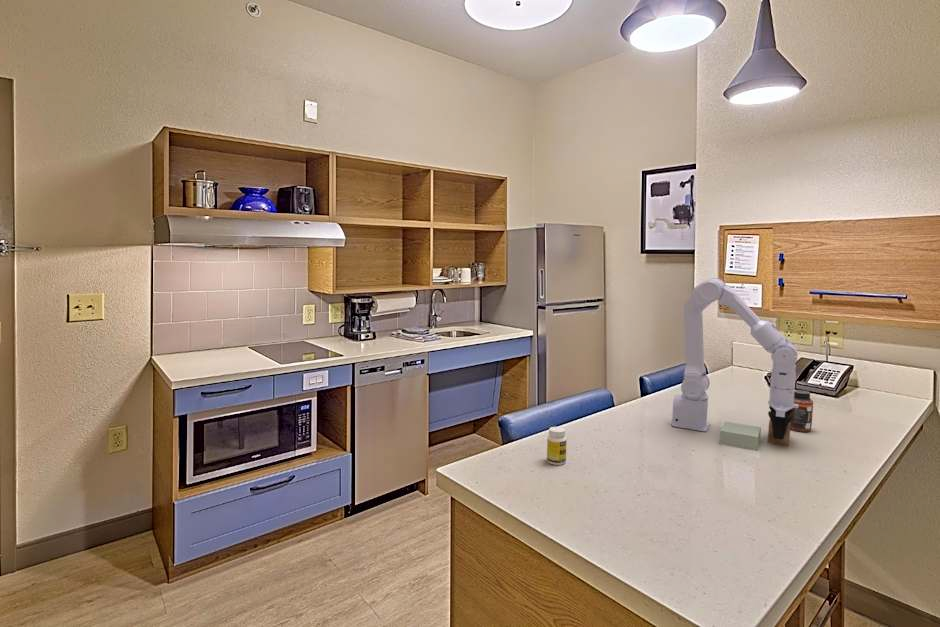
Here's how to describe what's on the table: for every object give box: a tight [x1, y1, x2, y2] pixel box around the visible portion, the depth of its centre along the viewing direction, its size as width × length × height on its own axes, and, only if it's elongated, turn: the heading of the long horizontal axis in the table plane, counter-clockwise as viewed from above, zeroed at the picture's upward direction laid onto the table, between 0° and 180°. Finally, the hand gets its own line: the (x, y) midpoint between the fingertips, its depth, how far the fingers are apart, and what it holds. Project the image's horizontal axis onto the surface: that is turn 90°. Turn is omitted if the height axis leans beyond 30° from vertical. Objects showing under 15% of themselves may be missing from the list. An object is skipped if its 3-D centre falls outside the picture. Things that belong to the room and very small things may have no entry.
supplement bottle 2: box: [790, 389, 814, 433], centre depth 154 cm, size 6×6×11 cm
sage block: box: [719, 421, 762, 451], centre depth 145 cm, size 9×9×4 cm
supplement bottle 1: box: [546, 426, 567, 466], centre depth 132 cm, size 5×5×8 cm
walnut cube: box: [767, 418, 791, 446], centre depth 145 cm, size 5×5×5 cm
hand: (778, 435), depth 146 cm, fingers closed on walnut cube, 5 cm apart
